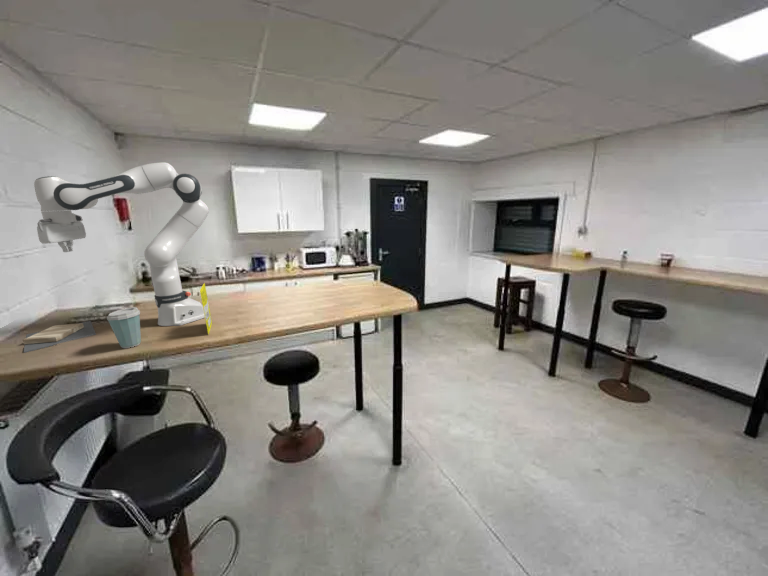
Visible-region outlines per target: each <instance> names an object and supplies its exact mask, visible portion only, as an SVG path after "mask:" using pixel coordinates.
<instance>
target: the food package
mask: <svg viewBox="0 0 768 576" xmlns="http://www.w3.org/2000/svg"><path fill="white" fill-rule="evenodd" d="M199 293H200V298H201V304H202V305H203V310H204V315H205V318H204V320H205V324H206V329H207V330H206V331H207V335H208V336H209V335H210V331H211V328H212V324H213V320H212V314H211V309H210V304H209V303H210V302H209V300H208V293H207V287H206V282H204V283H203V284H202V286H201V288H200V289H199Z"/></svg>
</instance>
